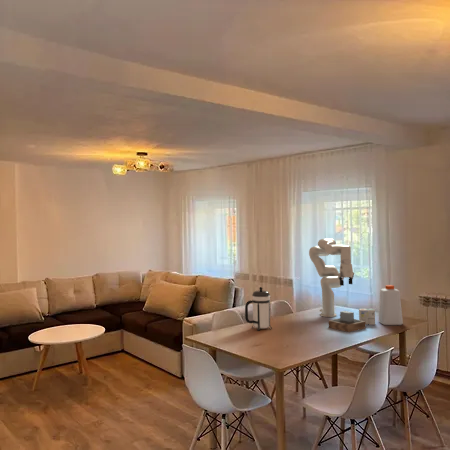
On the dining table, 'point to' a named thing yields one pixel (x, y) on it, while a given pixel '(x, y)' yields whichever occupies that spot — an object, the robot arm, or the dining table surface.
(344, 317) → the block
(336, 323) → the walnut stand
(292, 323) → the dining table surface
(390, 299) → the plastic bottle
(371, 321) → the light bulb box
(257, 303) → the coffee press
